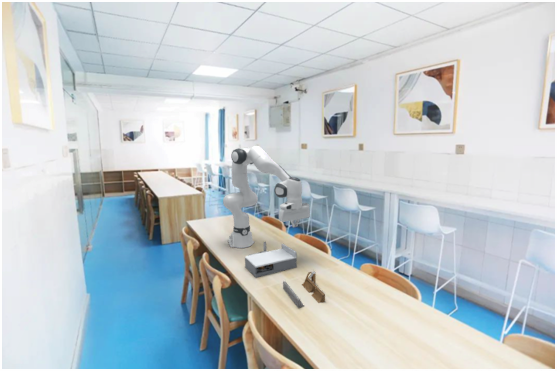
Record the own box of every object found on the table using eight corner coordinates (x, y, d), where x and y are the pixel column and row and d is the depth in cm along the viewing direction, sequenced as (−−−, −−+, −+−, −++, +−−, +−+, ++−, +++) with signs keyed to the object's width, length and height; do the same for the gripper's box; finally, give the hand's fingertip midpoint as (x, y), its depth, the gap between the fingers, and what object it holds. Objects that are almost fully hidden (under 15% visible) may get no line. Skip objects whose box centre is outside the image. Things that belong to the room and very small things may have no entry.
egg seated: (268, 266, 169) (267, 258, 169) (274, 264, 171) (273, 257, 170) (271, 268, 166) (270, 261, 165) (277, 267, 168) (276, 259, 167)
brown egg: (263, 267, 168) (262, 260, 167) (265, 269, 164) (265, 262, 164) (256, 268, 166) (256, 261, 165) (259, 271, 162) (259, 263, 162)
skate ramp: (271, 286, 148) (271, 272, 147) (330, 274, 160) (330, 262, 159) (292, 317, 121) (292, 301, 120) (361, 301, 133) (362, 286, 132)
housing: (245, 268, 169) (244, 258, 168) (283, 259, 181) (283, 249, 180) (256, 279, 155) (255, 268, 154) (296, 268, 167) (296, 258, 166)
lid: (245, 257, 168) (244, 251, 168) (283, 249, 180) (283, 243, 180) (255, 267, 154) (255, 261, 154) (296, 258, 166) (296, 251, 166)
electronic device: (245, 244, 183) (266, 240, 190) (246, 259, 184) (267, 253, 191) (248, 247, 178) (270, 242, 185) (249, 262, 180) (270, 256, 187)
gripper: (306, 201, 178) (306, 222, 180) (277, 205, 169) (277, 227, 171) (312, 203, 173) (312, 225, 175) (282, 207, 163) (282, 230, 165)
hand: (294, 226), depth 172 cm, fingers closed
